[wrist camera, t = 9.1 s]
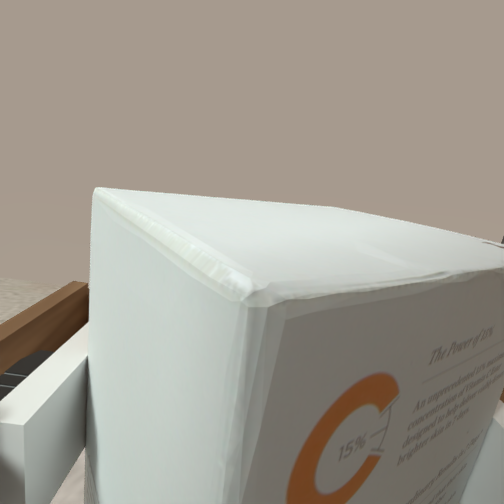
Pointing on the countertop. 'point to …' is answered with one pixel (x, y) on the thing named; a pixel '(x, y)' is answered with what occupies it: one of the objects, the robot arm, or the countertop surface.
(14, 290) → the countertop surface
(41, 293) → the countertop surface
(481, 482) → the robot arm
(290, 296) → the small box
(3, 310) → the countertop surface
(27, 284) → the countertop surface
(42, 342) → the wooden u-shaped frame
